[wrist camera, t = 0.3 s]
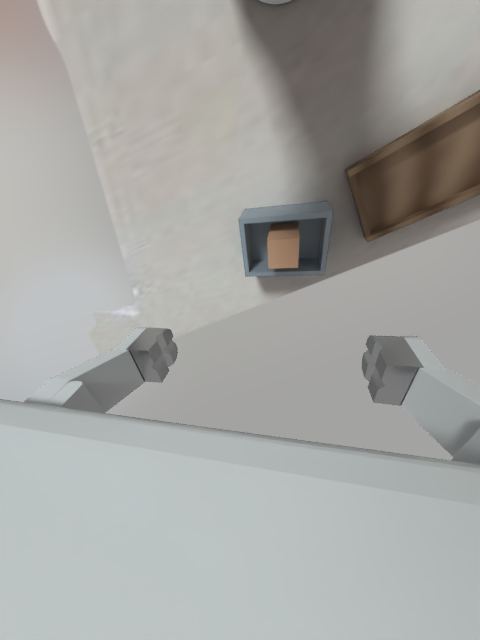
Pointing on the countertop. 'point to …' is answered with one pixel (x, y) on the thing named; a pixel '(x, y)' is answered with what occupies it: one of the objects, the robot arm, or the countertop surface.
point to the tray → (419, 171)
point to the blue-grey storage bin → (311, 233)
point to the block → (283, 245)
